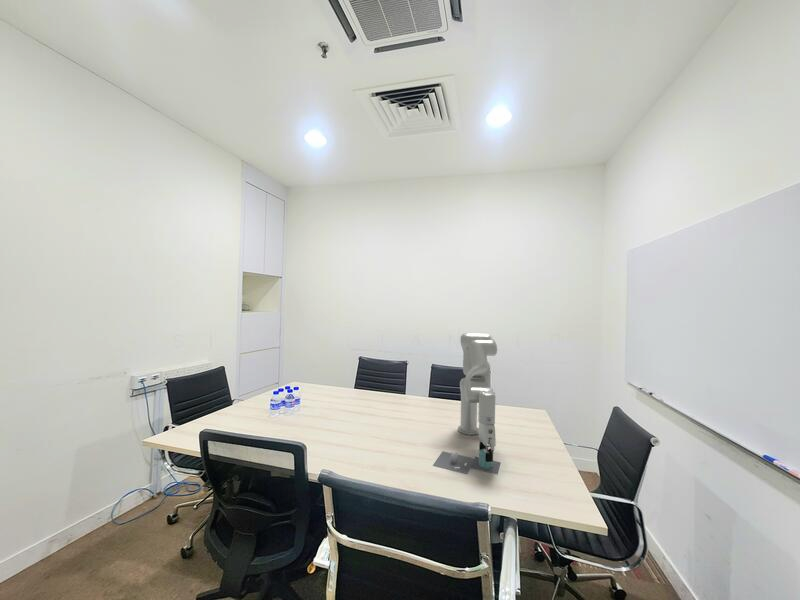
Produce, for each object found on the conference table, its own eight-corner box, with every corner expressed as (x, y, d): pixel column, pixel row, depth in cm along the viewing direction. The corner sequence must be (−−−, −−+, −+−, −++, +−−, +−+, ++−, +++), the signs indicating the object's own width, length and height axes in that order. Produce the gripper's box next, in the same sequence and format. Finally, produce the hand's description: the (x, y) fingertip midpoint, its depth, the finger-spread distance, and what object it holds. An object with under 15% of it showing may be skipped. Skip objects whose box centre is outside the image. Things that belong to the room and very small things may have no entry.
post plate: (442, 452, 157) (442, 442, 157) (474, 459, 150) (474, 449, 151) (432, 466, 142) (432, 456, 143) (467, 475, 136) (467, 464, 136)
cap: (477, 461, 147) (477, 448, 147) (489, 461, 148) (489, 448, 148) (481, 468, 141) (481, 454, 141) (494, 468, 142) (494, 454, 142)
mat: (475, 457, 152) (475, 456, 152) (500, 463, 147) (500, 462, 147) (470, 469, 141) (470, 467, 141) (497, 475, 136) (497, 474, 136)
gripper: (502, 426, 136) (501, 466, 136) (487, 412, 154) (486, 448, 153) (485, 426, 136) (484, 466, 135) (472, 412, 153) (471, 448, 153)
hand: (485, 456), depth 144 cm, fingers open, 7 cm apart
